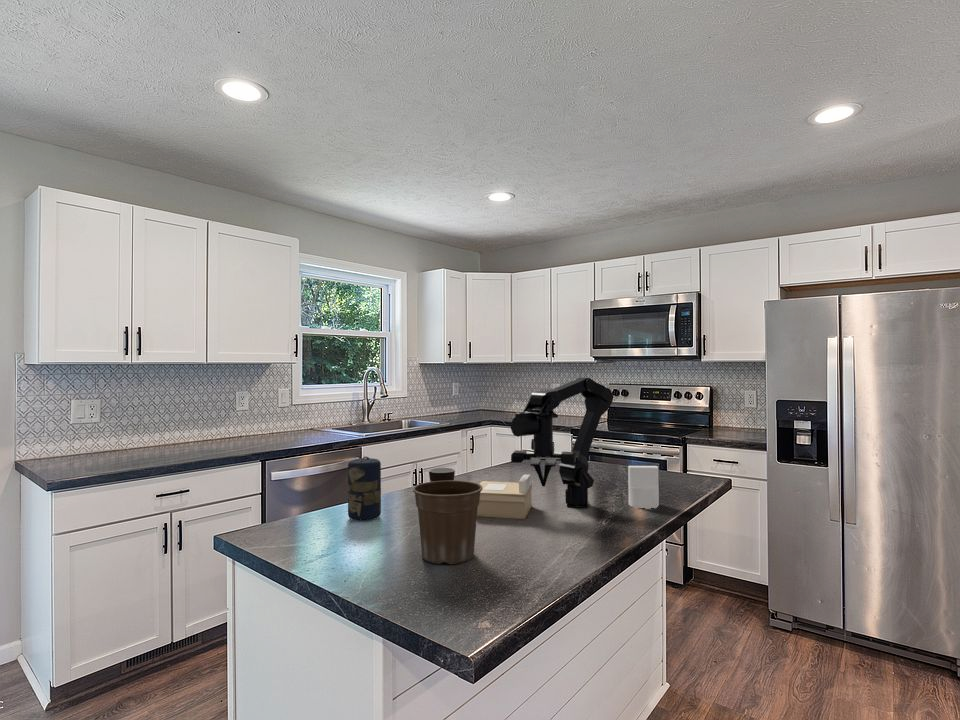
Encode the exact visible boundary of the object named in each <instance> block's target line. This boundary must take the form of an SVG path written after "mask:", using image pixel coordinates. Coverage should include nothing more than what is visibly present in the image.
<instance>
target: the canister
mask: <svg viewBox="0 0 960 720" xmlns="http://www.w3.org/2000/svg"><path fill="white" fill-rule="evenodd" d="M381 466H382V463H381V461H380V459H377V458H371V457H369V456H363V457H362V458H355V459H352V460H350V461H348V464H347V516H348V518H350V519H351V520H353V521H361V522H362V521H371V520H375V519H377V518H379V517H380V516H381V514H382V485H381V483H382V482H381V481H382V478H381V477H382V475H381V474H382V470H381V469H382V467H381Z"/></svg>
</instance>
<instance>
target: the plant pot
mask: <svg viewBox="0 0 960 720" xmlns="http://www.w3.org/2000/svg"><path fill="white" fill-rule="evenodd" d="M482 488H483V487H482V486H481V485H480V483H477V482H474V481H473V482H472V481H468V480H467V481H465V480H455V479H454V480H446V481H433V482H430V481H428V482H422V483H419V484H416V485H414V486H413V487H412V492H413V493H414V496H415V497H414V498H415V505H416V508H417V514H418V525H419V536H420V547H421V557H422V559H423V560H424V561H427V562H428V563H432V564H435V565H436V564H437V565H441V564H442V563H445V564H448V565H457V564H462V563H465V562H467V561H470V560H471V559H473V557H474V555H475V543H476V532H477V530H476V529H477V522H478V521H477V519H478V516H477V509H478V505H479V501H480V492H481V491H482Z"/></svg>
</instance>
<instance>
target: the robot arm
mask: <svg viewBox="0 0 960 720" xmlns="http://www.w3.org/2000/svg"><path fill="white" fill-rule="evenodd" d="M579 394H580V395H581V396H582V397H583V398H585V399H584V407H585V413H584V416H583V419H582V422H581V424H580V427H579V429H578V432H577V436H576V439H575V441H574V444H573V448H572V450H571V451H562V452H561V453H560V454H559V453H558V454H555V443H554V439H553V438H554V428H553V427H554V426H553V425H554V423H553V422H554V421H553V419H557V418H558V417H559V415H558V414H557V412H556V413H555V411H554V410H555V409H556V408H558V407H559V406H560V404H561V403H562V402H563V401H565V400H568V399H570V398H572V397H574V396H577V395H579ZM613 400H614V394H613V392H612V389H610V388H609V387H606V386H604V385H602V384H600V383H598V382H596V381H595V380H593V379H592V378H590V377H582V376H581V377H576V379H574V380H572V381H569V382H566V383H565V384H561V385H560V386H557V387H555V388H551V389H542V390H535V391H533V392H532V393H531V394H530V397H529V400H528V402H527V403H526V406H525V407H524V408H523V411H522V412H515V414H514V415H515V416H514V417H513V419H512V420H511V423H510V430H511V433H512V434H513V436H514V437H517V438H518V437H519V438H520V437H526V436H533V438H531V443H530V444H531V445H530V446H531V447H530V448H531V450H532V451H533V453H527V450H515V451H513V452H512V453H511V454H510V455H511V457H510V462H511V463H517V464H518V463H519V464H521V463H523V462H524V461H529V460H530V465H529V466H531V467H533V468H534V470H535V471H536V473H537V476H538V479H539V481H540V483H541V487H546V484H547V481H548V478H549V475H550V472H551V469H552V468H553V467H556V465H557V461H560V463H559V464H558V467H559V468H558V469H559V471H558V473H559V476H560V478H561V481H562V484H563V485H566V489H565V492H564V493H565V504H566V508H584V509H585V508H586V509H587V508H589V503H590V501H589V489H591V487H594V482H595V479H594V478H593V477H592V476H591V474H590V473H589V472H588V471H589V468H590V467H589V466H590V465H589V461H588V455H589V452H590V450H591V446H592V443H593V440H594V438H595V435H596V432H597V429H598V426H599V424H600V420H601V418H602V415H604V414H605V413H606V412H607V411H608V410H609V409H610V407H611V405H612V403H613ZM543 461H545V464H544V469H543Z"/></svg>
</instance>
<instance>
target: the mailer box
mask: <svg viewBox="0 0 960 720" xmlns="http://www.w3.org/2000/svg"><path fill="white" fill-rule="evenodd" d="M532 496H533V495H532V490H531V488H530V489H529V491H528V492H527V494H526V496H525V497H524V500H525V502H509V501H488V500H480V501H479V505H478V509H477V517H480V518H481V517H483V518H484V517H485V518H486V517H487V518H500V519H501V518H503V519H516V520H517V519H518V520H522V519H523V520H526V518H527V516H528V514H529V513H530V510H531V509H530V508H532V507H531V506H533V505H532V502H533V501H532V499H533V497H532Z"/></svg>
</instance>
